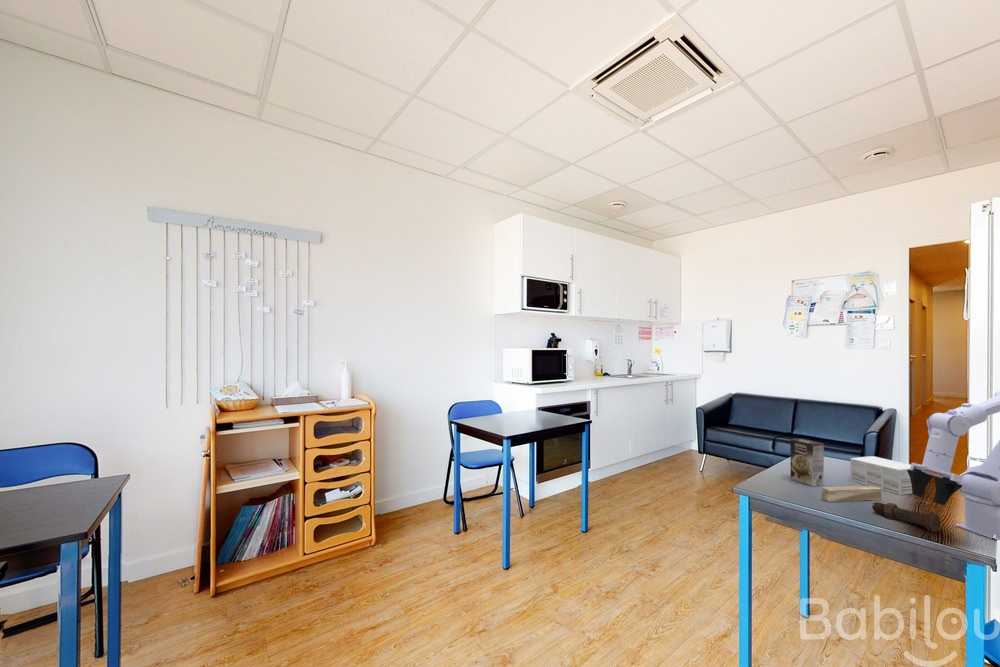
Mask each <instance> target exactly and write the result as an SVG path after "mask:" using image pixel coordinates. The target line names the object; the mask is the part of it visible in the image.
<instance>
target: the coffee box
mask: <svg viewBox="0 0 1000 667" xmlns="http://www.w3.org/2000/svg"><path fill="white" fill-rule="evenodd" d="M824 444H825V443H822V442H818V441H814V440H809V439H806V438H790V459H789V460H790V480H792V481H795V482H798V481H799V482H798V483H801V482H802V483H801V484H804V483H805V484H804V485H807V484H808V486H810V485H811V487H817V485H819V486H824V483H825V482H824V481H825V480H824V471H825V470H824V463H825V462H824V459H825V457H824V456H825V454H824V452H825V448H824V447H825V445H824Z"/></svg>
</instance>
